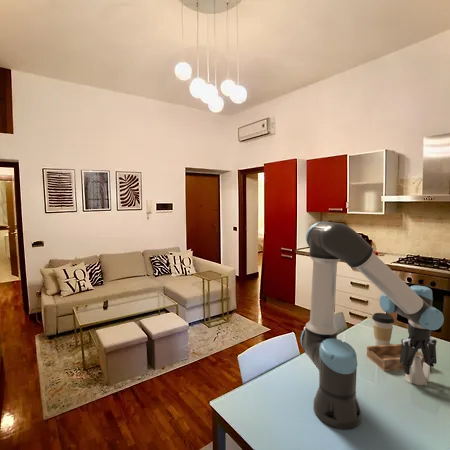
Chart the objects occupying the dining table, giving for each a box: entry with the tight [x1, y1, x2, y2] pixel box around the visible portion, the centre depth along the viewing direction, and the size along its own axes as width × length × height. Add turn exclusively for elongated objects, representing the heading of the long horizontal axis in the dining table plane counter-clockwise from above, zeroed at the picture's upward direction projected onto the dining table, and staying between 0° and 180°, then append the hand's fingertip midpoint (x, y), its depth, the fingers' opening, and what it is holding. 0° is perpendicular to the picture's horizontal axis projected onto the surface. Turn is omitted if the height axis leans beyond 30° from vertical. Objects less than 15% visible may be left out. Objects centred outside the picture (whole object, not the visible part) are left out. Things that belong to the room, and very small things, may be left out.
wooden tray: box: [366, 343, 426, 372], centre depth 129 cm, size 21×12×5 cm, turn 96°
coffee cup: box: [371, 312, 395, 346], centre depth 145 cm, size 10×10×15 cm
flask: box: [411, 355, 428, 386], centre depth 115 cm, size 7×7×10 cm
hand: (417, 380), depth 115 cm, fingers closed on flask, 7 cm apart
